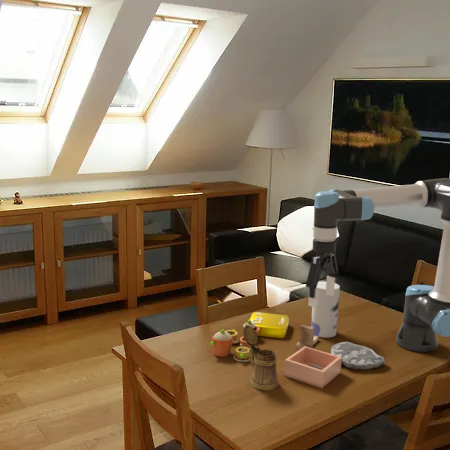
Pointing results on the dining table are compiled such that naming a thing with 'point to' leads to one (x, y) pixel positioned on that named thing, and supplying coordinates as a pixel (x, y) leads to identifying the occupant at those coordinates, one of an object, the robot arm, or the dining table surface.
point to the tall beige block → (306, 336)
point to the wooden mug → (261, 363)
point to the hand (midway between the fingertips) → (321, 300)
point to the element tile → (270, 324)
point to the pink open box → (312, 366)
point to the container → (325, 312)
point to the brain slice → (357, 356)
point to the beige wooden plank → (313, 342)
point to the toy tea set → (229, 337)
